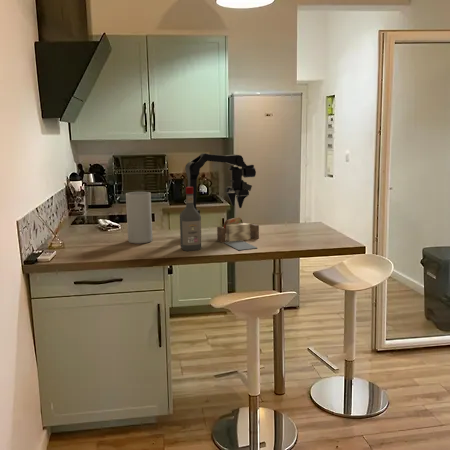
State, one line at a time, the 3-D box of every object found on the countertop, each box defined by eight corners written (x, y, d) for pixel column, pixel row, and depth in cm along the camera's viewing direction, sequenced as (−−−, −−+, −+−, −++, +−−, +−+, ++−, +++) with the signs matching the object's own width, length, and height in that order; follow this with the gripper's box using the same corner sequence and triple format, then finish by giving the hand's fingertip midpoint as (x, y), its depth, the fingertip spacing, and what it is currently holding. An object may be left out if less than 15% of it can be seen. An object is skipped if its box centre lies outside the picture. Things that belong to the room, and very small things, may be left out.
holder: (221, 242, 267) (221, 229, 265) (217, 240, 272) (217, 227, 271) (258, 238, 275) (258, 225, 273) (253, 236, 280) (253, 223, 279)
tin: (227, 236, 282) (227, 220, 280) (222, 235, 283) (222, 220, 282) (243, 231, 293) (243, 216, 292) (238, 230, 295) (238, 216, 294)
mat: (238, 250, 250) (238, 249, 250) (223, 242, 266) (223, 242, 266) (257, 248, 254) (257, 247, 254) (241, 240, 270) (241, 240, 270)
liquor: (202, 250, 252) (201, 187, 246) (183, 251, 249) (182, 188, 243) (197, 245, 260) (196, 185, 254) (179, 247, 258) (178, 186, 252)
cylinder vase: (123, 242, 269) (120, 194, 264) (136, 237, 280) (134, 191, 275) (144, 244, 264) (142, 195, 259) (156, 239, 275) (155, 192, 271)
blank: (229, 241, 269) (229, 226, 268) (226, 240, 273) (225, 224, 271) (250, 239, 274) (250, 224, 272) (246, 237, 278) (246, 222, 276)
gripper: (257, 178, 278) (257, 208, 281) (242, 175, 295) (242, 203, 298) (238, 180, 274) (239, 209, 277) (224, 176, 290) (224, 204, 293)
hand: (236, 206), depth 286 cm, fingers open, 9 cm apart
